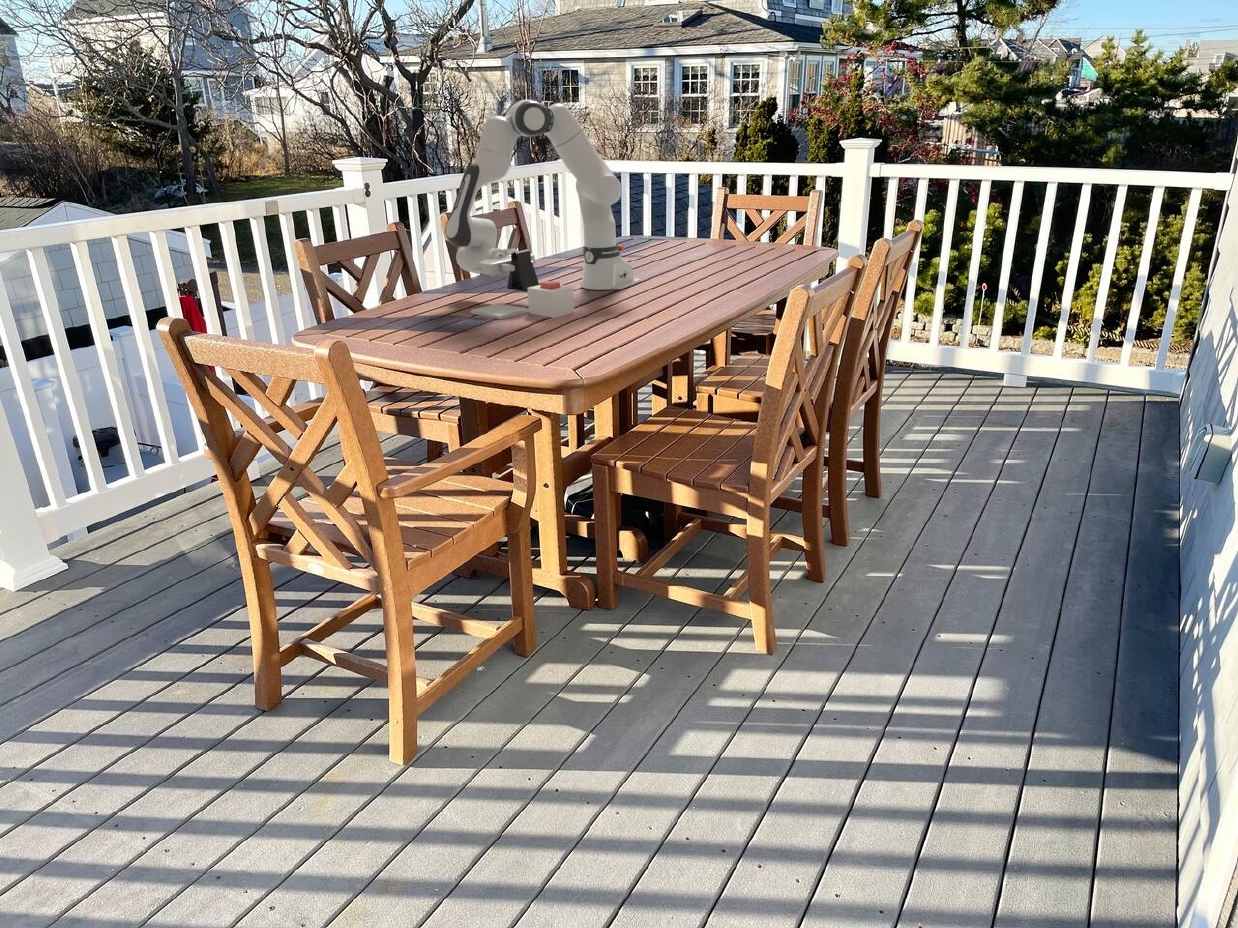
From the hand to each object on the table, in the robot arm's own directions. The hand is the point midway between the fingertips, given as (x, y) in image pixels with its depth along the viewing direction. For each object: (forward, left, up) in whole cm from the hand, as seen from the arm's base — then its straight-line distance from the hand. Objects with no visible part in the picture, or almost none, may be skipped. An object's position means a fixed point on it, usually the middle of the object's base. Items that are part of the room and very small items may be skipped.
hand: (523, 266), depth 286 cm
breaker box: (+2, +14, -13) cm, 19 cm away
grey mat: (+11, 0, -13) cm, 17 cm away
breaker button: (+2, +14, -6) cm, 16 cm away
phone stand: (0, -1, -8) cm, 8 cm away
